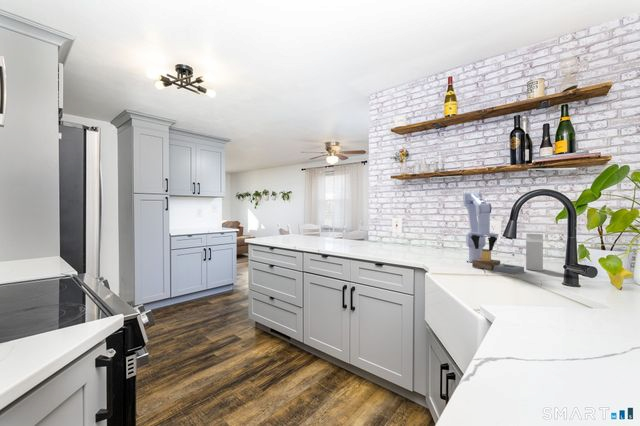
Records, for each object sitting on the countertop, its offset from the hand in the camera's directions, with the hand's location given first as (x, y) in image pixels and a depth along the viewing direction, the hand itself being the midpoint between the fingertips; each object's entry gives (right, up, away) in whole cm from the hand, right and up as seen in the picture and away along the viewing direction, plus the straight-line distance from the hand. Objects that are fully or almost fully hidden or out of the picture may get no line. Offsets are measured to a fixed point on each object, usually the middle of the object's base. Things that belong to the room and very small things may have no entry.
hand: (483, 249), depth 161 cm
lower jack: (+8, -10, -10) cm, 16 cm away
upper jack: (+1, -10, 0) cm, 10 cm away
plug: (+1, -8, 0) cm, 8 cm away
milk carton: (+24, -10, -5) cm, 27 cm away
